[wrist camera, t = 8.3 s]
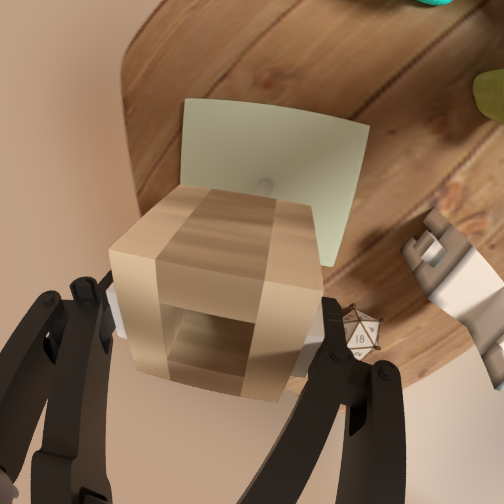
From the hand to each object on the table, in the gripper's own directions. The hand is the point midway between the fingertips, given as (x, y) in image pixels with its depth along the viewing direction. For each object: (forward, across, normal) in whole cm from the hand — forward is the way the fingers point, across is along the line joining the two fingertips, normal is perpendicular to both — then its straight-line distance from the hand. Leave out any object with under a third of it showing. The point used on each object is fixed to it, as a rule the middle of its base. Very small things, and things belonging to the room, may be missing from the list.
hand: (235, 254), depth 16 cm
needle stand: (+18, 0, -1) cm, 18 cm away
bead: (0, 0, 0) cm, 0 cm away
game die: (+18, +17, -19) cm, 31 cm away
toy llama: (+18, +26, -5) cm, 32 cm away
